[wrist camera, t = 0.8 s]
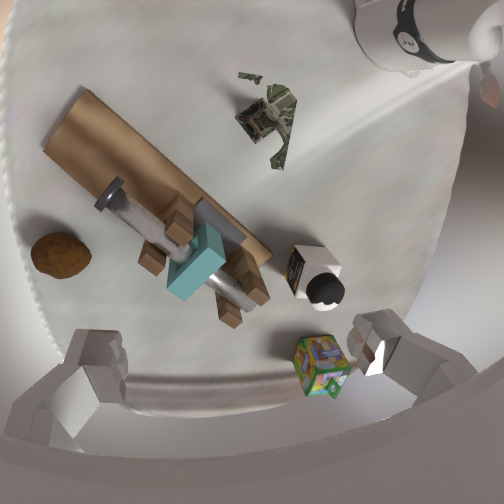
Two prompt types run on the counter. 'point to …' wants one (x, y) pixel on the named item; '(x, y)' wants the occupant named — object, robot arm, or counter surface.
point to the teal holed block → (197, 263)
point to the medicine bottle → (315, 276)
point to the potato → (60, 255)
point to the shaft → (167, 240)
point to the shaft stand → (154, 193)
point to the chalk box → (321, 366)
